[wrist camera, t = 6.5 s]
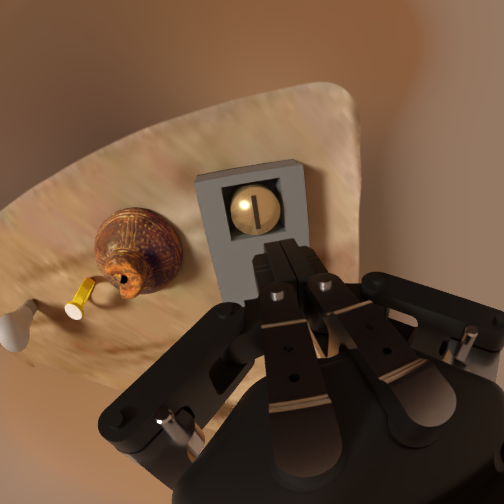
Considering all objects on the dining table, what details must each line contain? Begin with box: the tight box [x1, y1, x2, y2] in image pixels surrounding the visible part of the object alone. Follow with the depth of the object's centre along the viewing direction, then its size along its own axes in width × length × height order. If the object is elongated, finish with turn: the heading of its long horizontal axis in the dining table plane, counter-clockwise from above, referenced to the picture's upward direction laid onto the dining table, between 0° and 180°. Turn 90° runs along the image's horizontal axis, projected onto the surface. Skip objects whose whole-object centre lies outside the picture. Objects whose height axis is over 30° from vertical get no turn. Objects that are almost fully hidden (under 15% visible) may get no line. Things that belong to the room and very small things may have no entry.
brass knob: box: [230, 181, 280, 235], centre depth 29 cm, size 5×5×4 cm
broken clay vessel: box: [94, 208, 182, 299], centre depth 30 cm, size 12×12×7 cm
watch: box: [65, 277, 95, 320], centre depth 32 cm, size 6×3×6 cm, turn 141°
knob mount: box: [194, 159, 310, 327], centre depth 33 cm, size 22×11×4 cm, turn 8°
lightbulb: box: [0, 300, 37, 352], centre depth 29 cm, size 6×6×11 cm
